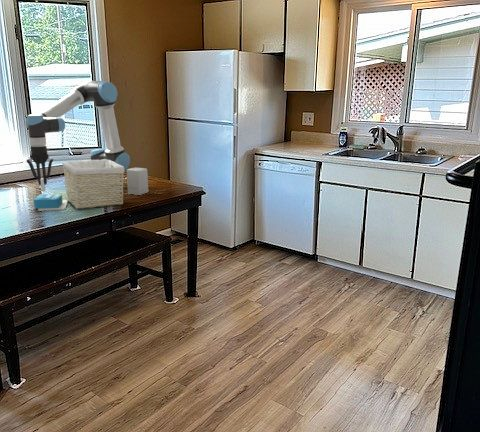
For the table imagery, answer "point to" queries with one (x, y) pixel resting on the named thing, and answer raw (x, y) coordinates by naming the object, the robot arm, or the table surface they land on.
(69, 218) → the table surface
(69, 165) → the basket
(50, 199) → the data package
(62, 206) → the white flat rectangular panel
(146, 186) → the supplement box
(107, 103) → the robot arm
